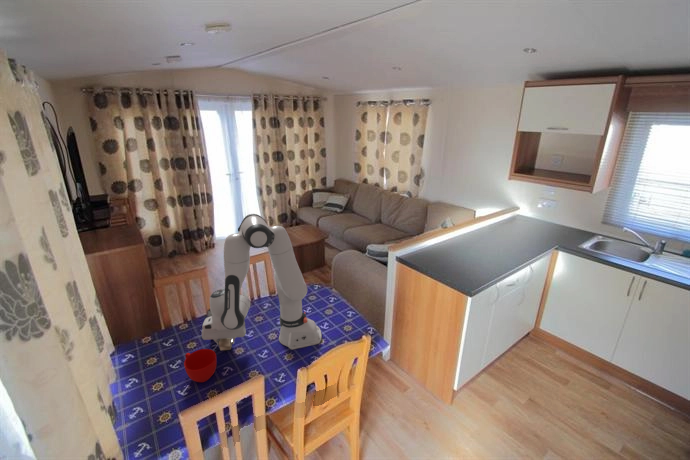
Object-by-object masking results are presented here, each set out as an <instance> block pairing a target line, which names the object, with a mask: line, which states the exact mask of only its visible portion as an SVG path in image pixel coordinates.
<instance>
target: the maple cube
mask: <svg viewBox="0 0 690 460" xmlns="http://www.w3.org/2000/svg"><path fill="white" fill-rule="evenodd" d="M231 339H232V338H223V339H218V340H219V345H218V347H219V350H220V351H231V350H232V346H233V344H231Z"/></svg>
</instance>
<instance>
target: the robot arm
mask: <svg viewBox="0 0 690 460" xmlns="http://www.w3.org/2000/svg"><path fill="white" fill-rule="evenodd" d="M251 248H253V249H262V248H267V250H268V254H269V257H270V260H271V264H272V267H273V269H274V272H273V277H274V283H275V286H276V292H277V297H278V301H279V312H280V315H279V325H280V330H279V337H278V341H279V343H280V344H281V345H283V346H286V347H288V348H289V350H297V349H302V348H306V347H310V346H311V347H312V346H314V345H315V346H316V345H318V344H320V343H321V341H322V337H323V335H322V331H321V328H320V327H319V326H318V325H317V324H316V322H315V321H314V320H313V319H310V318H308V317H307V314H306V311H304V312H303V302H302V301H303V299H304V298H305V297H306V295H307V293H308V286H307V283H306V282H305V279H304V276H303V273H302V271H301V269H300V267H299V264H298V262H297V259H296V255H295V251H294V248H293V244H292V241H291V238H290V236H289V234H288V232H287V230H286V229H285V227H284V226H281V225H274V226H269V225H268V224H267V222H266V221H265V220H264V218H263V216H261V215H259V214H256V213H251V214H247V215H246V216H244V217H243V219H242V221H241V223H240V224H239V226H238V228H237V233H231V234H229V235H227V237H226V238H225V239H224V245H223V266H224V267H223V269H224V288H223V289H217V290H215V291H213V293H212V294H211V295H210V296H209V309H210V310H211V313H212V316H210V317H208V316H207V317H206V318H205V319H204V321H203V323H202V329H201V338H202V340H204V341H208V340H213V341H214V342H215V343H216V346H219V340H220V339H223V338H232V339H231V344H232V345H234V344H235V340H236V338H243V337H245V335H246V333H247V330H246V321H245V320H246V318H247V317H246V316H247V315H248V312H249V310H250V308H251V300H250V299H249V297H248V296H246V295H243V294H241V288H242V285H243V283H244V282H245V279H246V277H247V274H248V272H249V269H250V263H251V262H250V261H251V258H250V257H251V255H250V252H251V251H250V249H251Z"/></svg>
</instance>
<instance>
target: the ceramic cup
mask: <svg viewBox="0 0 690 460" xmlns="http://www.w3.org/2000/svg"><path fill="white" fill-rule="evenodd" d="M184 357H185V359H184V362H183V365H184V366H183V367H184V370H185V373H186V375H187V376H188V377H189V379H191V381H194V382H196V383H206V382H207V381H208V380H209V379H210V378H211V377H212V376H213V375H214V373H215V372H216V370H217V363H218V361H217V354H216V352H215V350H212V349H209V348H202V349H198V350H195V351H193V352H191V353H190V352H187V353H185V355H184Z"/></svg>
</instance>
